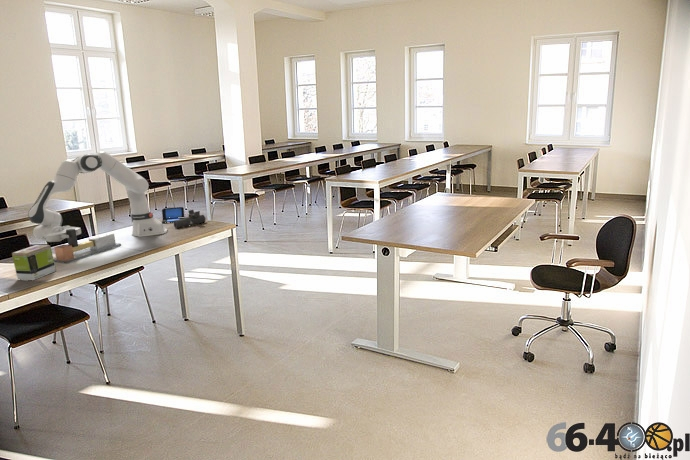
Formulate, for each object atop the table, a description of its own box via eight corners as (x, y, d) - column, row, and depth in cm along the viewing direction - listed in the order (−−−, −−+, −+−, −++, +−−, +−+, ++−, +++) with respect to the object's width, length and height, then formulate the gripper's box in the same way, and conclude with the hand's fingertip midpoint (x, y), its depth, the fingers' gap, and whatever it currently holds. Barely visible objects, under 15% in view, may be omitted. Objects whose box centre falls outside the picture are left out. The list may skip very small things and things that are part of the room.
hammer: (96, 243, 317) (93, 222, 314) (101, 243, 315) (98, 222, 312) (59, 254, 295) (55, 232, 292) (64, 255, 293) (60, 232, 290)
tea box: (41, 270, 278) (36, 244, 275) (56, 271, 275) (51, 244, 272) (16, 280, 264) (11, 252, 261) (32, 281, 261) (26, 252, 258)
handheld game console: (161, 224, 380) (160, 211, 377) (163, 220, 392) (161, 208, 390) (184, 222, 383) (182, 209, 381) (185, 218, 396) (183, 206, 394)
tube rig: (107, 244, 328) (105, 231, 326) (121, 245, 323) (119, 232, 321) (52, 261, 295) (49, 247, 293) (66, 263, 290) (64, 248, 288)
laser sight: (172, 227, 366) (170, 213, 364) (201, 221, 381) (200, 208, 379) (179, 229, 359) (177, 215, 357) (208, 223, 374) (207, 209, 372)
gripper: (38, 233, 294) (55, 234, 288) (70, 224, 312) (86, 226, 306) (40, 243, 296) (57, 245, 290) (72, 235, 314) (88, 236, 308)
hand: (72, 235), depth 298 cm, fingers closed on hammer, 3 cm apart
